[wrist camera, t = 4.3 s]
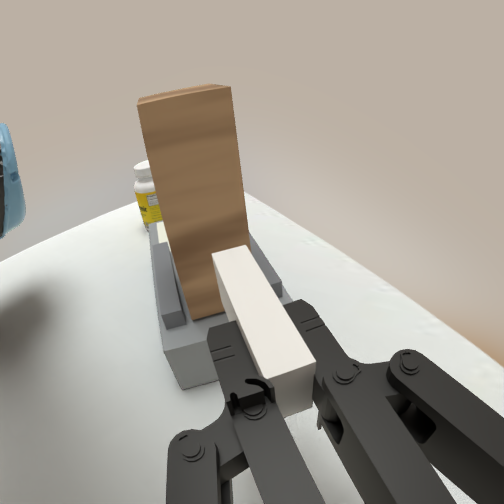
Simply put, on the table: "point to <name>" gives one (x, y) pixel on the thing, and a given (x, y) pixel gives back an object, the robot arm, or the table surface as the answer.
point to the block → (196, 183)
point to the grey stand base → (178, 317)
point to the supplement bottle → (146, 194)
